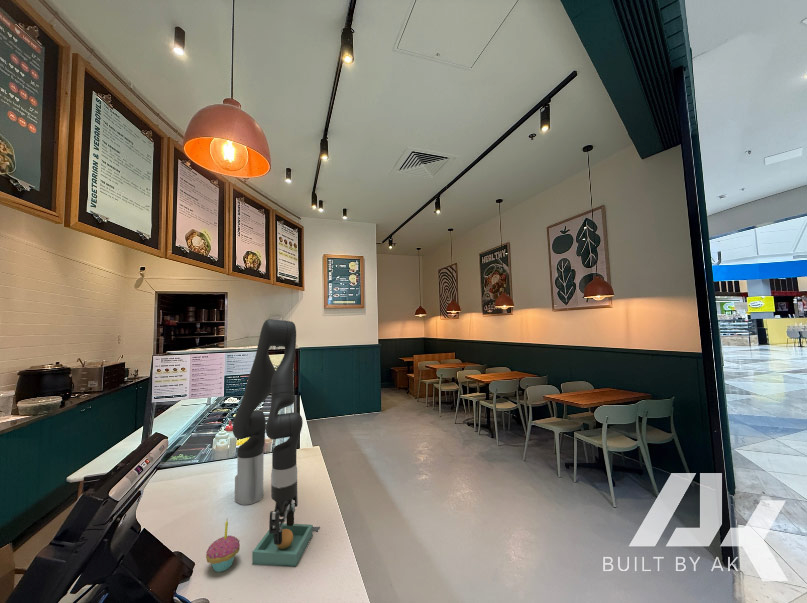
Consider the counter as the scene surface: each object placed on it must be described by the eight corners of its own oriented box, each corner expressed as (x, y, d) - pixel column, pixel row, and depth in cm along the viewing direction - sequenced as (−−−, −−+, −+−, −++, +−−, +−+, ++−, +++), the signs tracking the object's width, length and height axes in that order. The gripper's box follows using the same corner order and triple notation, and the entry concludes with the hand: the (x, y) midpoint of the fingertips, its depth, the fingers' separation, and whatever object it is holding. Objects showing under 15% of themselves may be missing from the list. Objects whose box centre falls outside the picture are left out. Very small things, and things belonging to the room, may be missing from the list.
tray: (252, 564, 94) (252, 551, 94) (274, 533, 107) (274, 522, 107) (296, 567, 93) (296, 554, 93) (312, 535, 106) (312, 524, 106)
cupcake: (215, 555, 97) (215, 514, 98) (244, 553, 98) (245, 512, 99) (199, 579, 89) (200, 533, 89) (232, 576, 90) (232, 531, 90)
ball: (272, 552, 98) (272, 535, 98) (280, 541, 102) (280, 524, 103) (288, 553, 97) (289, 536, 97) (295, 541, 102) (295, 525, 102)
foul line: (274, 529, 109) (274, 528, 109) (276, 525, 111) (276, 524, 111) (318, 531, 108) (317, 530, 108) (320, 527, 110) (320, 526, 110)
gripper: (283, 468, 108) (283, 518, 107) (260, 492, 94) (260, 550, 93) (305, 469, 107) (305, 519, 107) (285, 493, 93) (285, 551, 92)
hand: (284, 534), depth 100 cm, fingers open, 8 cm apart
